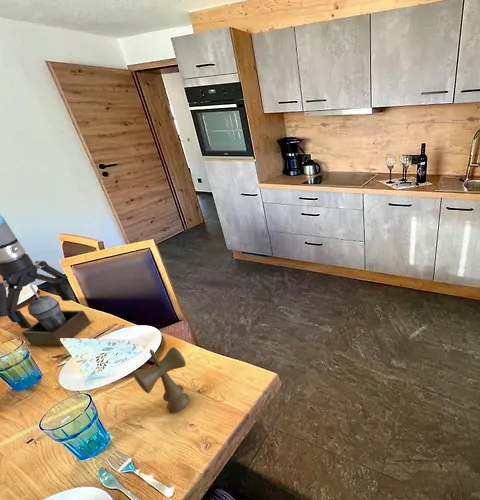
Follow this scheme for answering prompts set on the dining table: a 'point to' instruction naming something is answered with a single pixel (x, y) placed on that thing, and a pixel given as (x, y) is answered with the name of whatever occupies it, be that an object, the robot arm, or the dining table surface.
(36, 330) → the crate
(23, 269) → the robot arm
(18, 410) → the dining table surface
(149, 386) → the kendama
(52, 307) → the beverage cup
